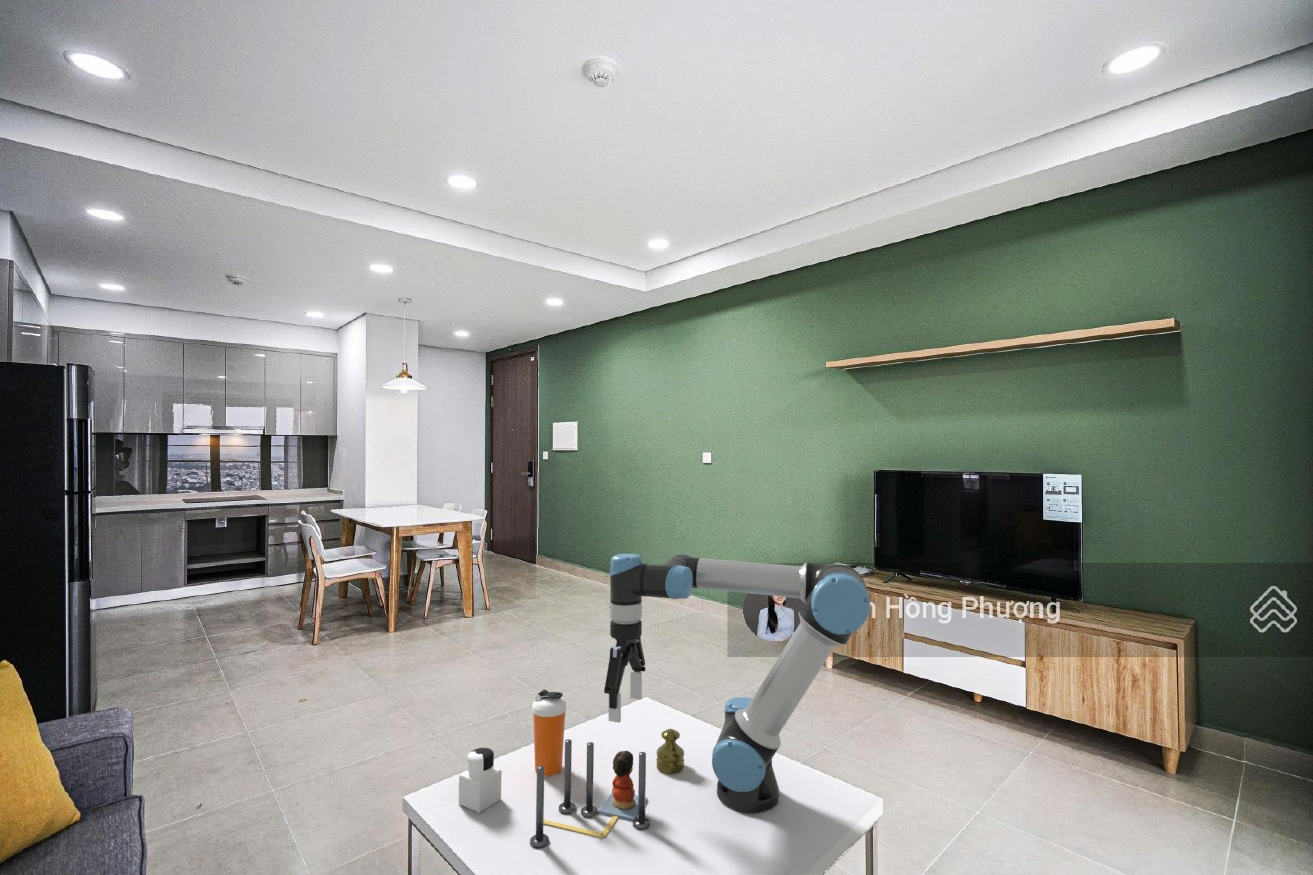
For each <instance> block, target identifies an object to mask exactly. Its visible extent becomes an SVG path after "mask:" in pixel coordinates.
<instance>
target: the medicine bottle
mask: <svg viewBox="0 0 1313 875" xmlns="http://www.w3.org/2000/svg"><path fill="white" fill-rule="evenodd" d="M494 754H495V753H494V750H492V749H491V748H488V747H478V748H475V749H473V750H471V751H470V752H469V753H468V754H467V770H465V771H464V772H461V773H460V774H459V777H458V781H459V782H458V804H459V805H460V806H463V807H465V808H466V809H468V810H471V811H473V812H476V813H478V814H481V812H484V811H485V810H486V809H488V808H490V807H491V806H493V805H494V804H495V803H497V802H499V801H500V800H501V799H502V769H499V768H497V767H494V766H495V765H494V762H495V761H494V760H495V758H494V756H495V755H494Z"/></svg>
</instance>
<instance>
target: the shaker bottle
mask: <svg viewBox="0 0 1313 875" xmlns="http://www.w3.org/2000/svg"><path fill="white" fill-rule="evenodd" d="M563 696H564V694H563V693H562V692H561V691H548V690H547V689H542V690H541V691H539V692H538V693H537V694H535V695H534V701H533V702H532V711H531V712H532V715H533V716H532V717H533V742H534V743H533V744H534V745H533V747H534V750H533V752H534V771H535V773H536V774H537V767H538V766H544V777H548V776H549V777H550V776H554V775H557V774H559V773H560V772H561V771H562V769H563V758H564V757H563V756H564V755H563V754H564V743H565V725H566V724H565V723H566V720H565V719H566V711H567V701H566V700H565V698H564V697H563Z"/></svg>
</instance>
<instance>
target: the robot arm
mask: <svg viewBox="0 0 1313 875" xmlns="http://www.w3.org/2000/svg"><path fill="white" fill-rule="evenodd" d="M609 570H610V572H609V576H610V577H609V580H610V586H609V587H610V588H609V589H610V594H609V595H610V604H609V605H608V607H609V609H610V619H611V621H609V622H610V625H609V629H610V630H609V634H610V637H611V638H612V639H614V640H615V641H616V642H615V647H613V646H612V647H610V649H609V661H608V666H607V671H606V677H605V683H604V684H605V685H604V690H603V693H604V694H608V722H613V723H619V724H620V723H621V720H622V714H621V713H622V692H620V688H621V685H622V681H623V677H624V673H625V669H626V667H627V666H628V665H629V666H630V668H631V671H630V676H629V677H630V686H629V687H630V690H629V691H630V694H629V697H630V699H632V700H634V699H635V700H640V701H641V700H642V698H643V696H642V695H643V694H642V691H643V690H642V687H643V686H642V684H643V682H642V679H643V678H642V673H643V672H644V673H645V671H646V660H645V655H644V651H643V650H644V649H643V645H642V638H641V637H642V634H643V633H642V628H643V626H642V625H643V622H642V620H641V619H642V617H643V604H642V603H643V601H642V600H643V599H642V597H647V598H649V597H650V598H660V599H672V600H680V599H681V600H682V599H683V600H686V599H688V598H689V597H690V596H691V594H692V591H693V589H704V590H715V591H725V592H732V593H743V594H752V595H762V596H763V595H765V596H771V597H772V596H774V597H782V598H793V599H799V600H801V601H802V602H803V605H801V608H800V609H799V611H798V617H799V622H800V623H799V624H798V626H797V628H796V629H795V631H794V633H793V634H792V635H791V637H790V639H789V640H788V642H787V643H786V645H785V647H784V648H783V650H782V651H781V653H780V655H779V656H778V657H777V659H776V661H775V663H774V664H773V666H772V668H771V669H770V670H769V672H768V673H767V674H766V677H765V678H764V680H763V681H762V683H761V684H760V686H759V688H758V689H757V691H756V693H755V694H754V696H753V697H745V696H744V697H742V696H740V697H733V698H729V699H728V700H727V701H726V702H725V703H724V708H723V710H724V722H723V723H724V724H723V726H722V728H721V730H720V734H719V736H718V738H717V741H716V744H715V745H714V747H713V749H712V752H711V753H712V756H711V766H712V769H713V773H714V775H715V776H716V778H717V783H716V795H717V798H718V799H719V801H720V802H721V803H722V804H723V805H725V806H726V807H728V809H729V808H730V809H732V810H735V811H737V812H741V813H742V812H743V813H749V814H750V813H751V814H757V813H763V812H767V811H771V810H773V809H774V808H775V807H776V806H777V805H778V803H779V801H780V789H779V788H780V787H779V783H778V781H777V778H776V775H775V771H774V767H773V757H774V756H775V754H776V753H777V751H778V750H779V748H780V746H781V745H782V744H781V737H780V733H781V731H782V730H783V729H784V727H785V726H786V724H787V722H788V720H790V717H791V716H792V714H793V713H794V711H795V710H796V708H797V706H798V705H799V703H800V702H801V700H802V699H803V697H804V695H805V694H806V692H807V691H808V690H809V688H810V686H811V685H812V683H813V682H814V681H815V679H816V676H817V675H818V674H819V673H820V670H821V669H822V668H823V666H824V664H825V663H826V662H827V660H828V658H829V657H830V655H831V653H832V652H833V650H834V649H835V648H836V647H842V646H846V644H847V643H848V642H849V640H850V638H851V637H852V635H853V634H854V632H856V631H858V630H859V629H861V627H863V625H864V624H865V622H866V621H867V620H868V617H869V615H870V610H871V600H870V594H869V592H868V590H867V585H866V582H865V580H864V578H863V577H862V575H861V573H859V572H858V571H857V570H856V569H854V568H852V567H851V566H848V565H845V564H841V563H823V562H822V563H821V562H820V563H815V562H805V563H803V564H802V565H790V564H789V565H786V564H779V563H778V564H777V563H766V562H765V563H763V562H753V561H742V560H741V561H740V560H727V559H717V558H706V557H703V558H702V557H692V556H691V555H689V554H686V553H679V554H676V555H673V556H672V557H671V558H669V559H668V560H667V561H666V562H664V563H663V564H649V563H643V558H642V556H641V555H639V554H637V553H635V554H634V553H618V554H614V555H613V556H612V557H611V559H610V569H609Z"/></svg>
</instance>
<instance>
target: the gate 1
mask: <svg viewBox="0 0 1313 875" xmlns="http://www.w3.org/2000/svg"><path fill="white" fill-rule="evenodd" d="M572 742H573V740H572V739H570V738H568V739H567V738H566V739H564V768H563V769H564V771H563V772H564V774H563V775H564V776H563V777H564V779H563V787H564V788H563V802H562V803H560V804H559V805H558V812H559V813H560V814H563V815H570V814H573V813H574V812H576V810H577V804H575V803H574V802H573V801H572V751H573V750H572V749H573V748H572V746H573V744H572ZM535 790H536V791H535V792H536V796H535V797H536V798H535V800H536V802H535V803H536V804H535V834H534V835H533V836H531V837H530V839H529V845H530V846H531V848H534V849H542V848H545V847H547V846H548V845H549V842H550V838H549V835H547V834H545V833H544V820H545V819H544V818H545V816H544V811H545V809H544V808H545V805H544V804H545V776H544V766H538V767H537V773H536V789H535Z"/></svg>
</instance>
